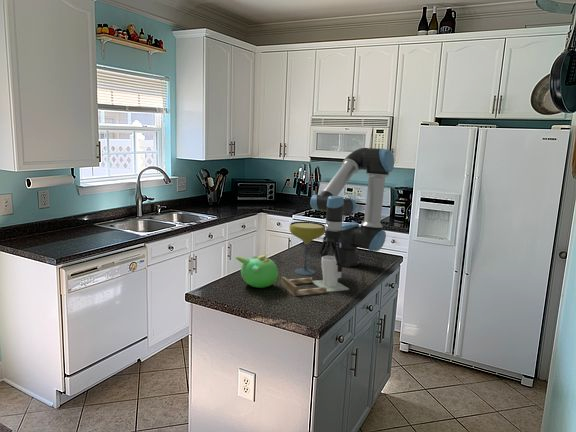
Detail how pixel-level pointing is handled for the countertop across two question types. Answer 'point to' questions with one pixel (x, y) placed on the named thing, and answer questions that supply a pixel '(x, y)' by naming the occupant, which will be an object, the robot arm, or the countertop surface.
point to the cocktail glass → (306, 238)
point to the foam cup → (329, 271)
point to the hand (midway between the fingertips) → (330, 273)
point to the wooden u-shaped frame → (294, 290)
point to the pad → (330, 289)
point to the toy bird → (258, 271)
